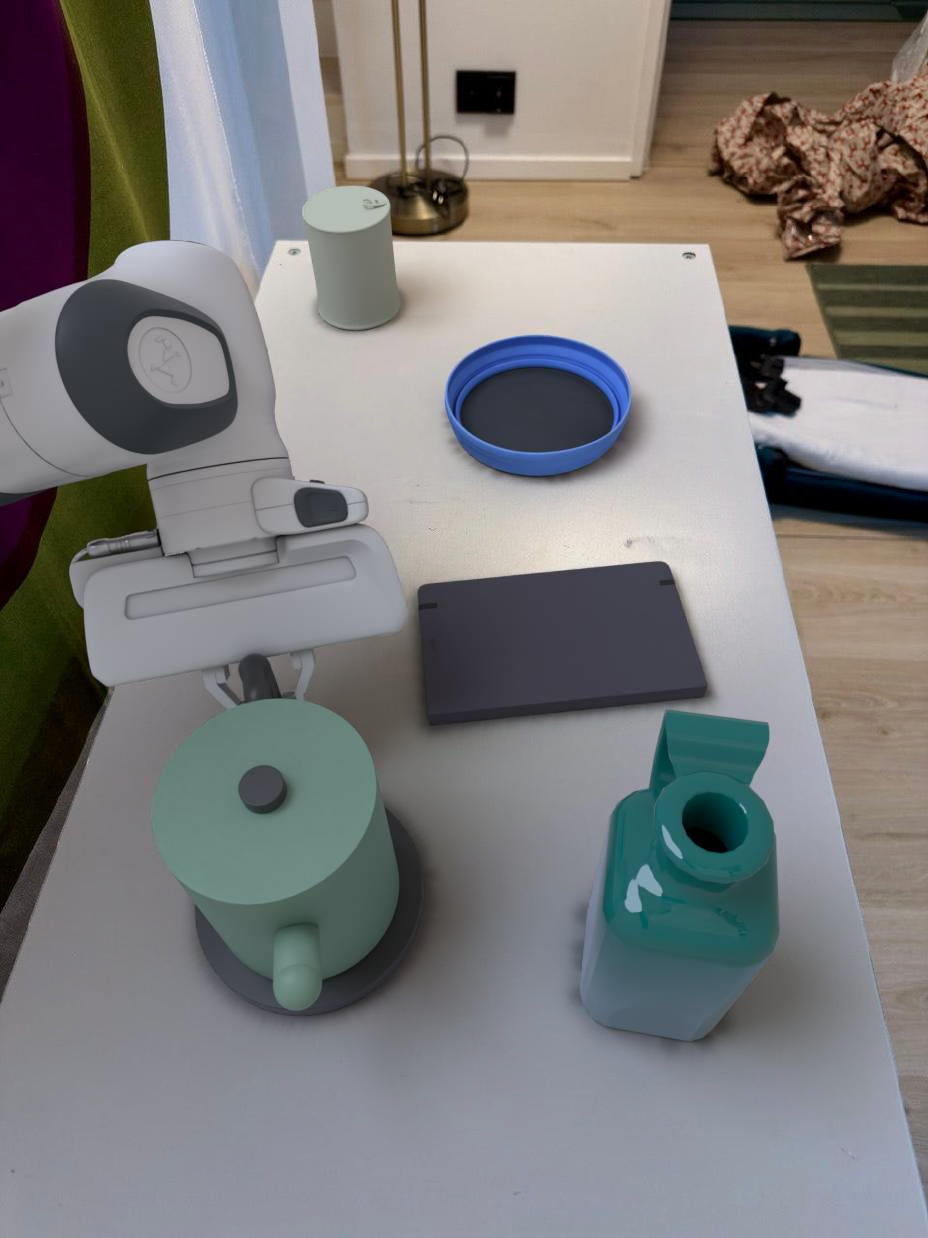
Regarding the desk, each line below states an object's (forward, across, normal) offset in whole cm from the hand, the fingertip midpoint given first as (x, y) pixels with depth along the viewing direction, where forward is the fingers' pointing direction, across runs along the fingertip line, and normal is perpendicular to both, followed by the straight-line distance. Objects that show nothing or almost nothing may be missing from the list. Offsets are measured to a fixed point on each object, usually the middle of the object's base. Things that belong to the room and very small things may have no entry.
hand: (273, 724), depth 59 cm
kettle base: (+12, 0, 0) cm, 12 cm away
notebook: (+1, +22, +12) cm, 25 cm away
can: (-35, +13, +47) cm, 60 cm away
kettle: (+11, 0, -1) cm, 11 cm away
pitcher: (+18, +21, -6) cm, 29 cm away
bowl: (-18, +27, +30) cm, 45 cm away
